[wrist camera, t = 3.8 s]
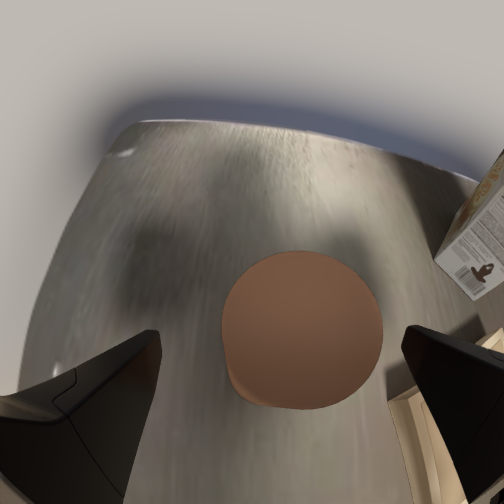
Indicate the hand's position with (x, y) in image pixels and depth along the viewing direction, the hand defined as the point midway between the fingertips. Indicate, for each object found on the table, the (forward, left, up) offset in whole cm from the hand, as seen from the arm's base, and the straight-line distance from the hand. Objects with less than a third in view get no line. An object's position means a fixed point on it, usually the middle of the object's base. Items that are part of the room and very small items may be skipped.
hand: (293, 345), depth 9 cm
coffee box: (+22, +3, -8) cm, 24 cm away
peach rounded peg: (0, 0, -8) cm, 8 cm away
